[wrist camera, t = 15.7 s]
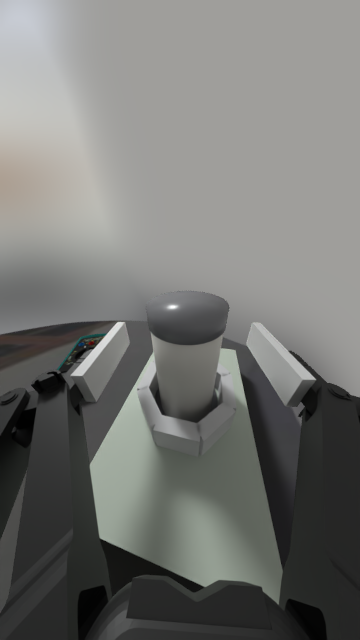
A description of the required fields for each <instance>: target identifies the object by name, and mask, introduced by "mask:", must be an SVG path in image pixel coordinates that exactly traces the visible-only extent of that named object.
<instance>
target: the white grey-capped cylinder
mask: <svg viewBox="0 0 360 640" xmlns="http://www.w3.org/2000/svg"><path fill="white" fill-rule="evenodd" d="M146 312H147V318H148V326H149V330H150V331H151V337H152V344H153V351H154V357H155V364H156V371H157V378H158V385H159V392H160V399H161V405H162V408H163V411H164V413H165V414H166V415H167V416H168V417H173V418H177V419H181V420H185V421H190V422H194V423H198V422H199V421H201V420H202V419H203V418H204V417H206V416H207V414H208V413H209V410H210V408H211V402H212V397H213V391H214V385H215V379H216V373H217V367H218V361H219V356H220V350H221V344H222V338H223V333H224V331H225V328H226V323H227V317H228V312H229V305H228V303H227V302H226V301H225V300H224V299H223V298H221V297H219V296H216V295H213V294H209V293H205V292H197V291H177V292H170V293H165V294H162V295H159V296H156V297H154V298H152V299H150V300H149V301H148V302H147V304H146Z"/></svg>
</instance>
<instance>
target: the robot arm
mask: <svg viewBox="0 0 360 640" xmlns="http://www.w3.org/2000/svg"><path fill="white" fill-rule="evenodd" d="M129 344H130V341H129V337H128V333H127V329H126V325H125V322H117V324H116V325H115V326H114V327H113V328H112V329H111V330H110V331H109V333H108V334H107V335H106V336H105V337H104V338H103V339H102V341H101V342H100V343H99V344H98V345H97V346H96V347H95V348H94V349H90V350H89V351H87V352H86V353H84V354H83V355H82V356H81V357H80V359H79V360H78V361H77V362H76V363H75V364H74V365H73V366H72V367H71V368H70V369H69V370H68V371H67V372H66V373H65V374H64V375H62V374H61V372H60V371H59V370H51V371H47V372H45V373H43V374H41V375H40V376H38V377H37V378H36V379H35V380H34V381H33V382H32V384H31V386H32V387H33V388H34V389H35V390H36V391H32V392H27V391H26V390H25V388H18V389H14V390H12V391H9V392H7V393H6V394H4V395H3V396H1V397H0V539H1V537H2V534H3V531H4V529H5V526H6V524H7V521H8V518H9V516H10V513H11V510H12V508H13V505H14V502H15V500H16V497H17V494H18V492H19V489H20V486H21V484H22V481H23V478H24V476H25V473H26V470H27V468H28V470H27V477H26V484H25V491H24V497H23V504H22V511H21V518H20V525H19V532H18V539H17V546H16V552H15V559H14V566H13V573H12V580H11V587H10V591H9V596H8V599H7V602H6V604H5V606H4V608H3V610H2V611H1V613H0V640H360V398H359V397H356V396H352V395H350V394H349V393H348V392H347V391H345V390H344V389H342V388H340V387H339V386H337V385H334V384H331V383H327V382H326V381H325V380H324V379H323V378H322V377H321V376H319V375H318V374H317V373H316V372H315V371H314V370H313V369H312V368H311V367H310V366H308V364H307V363H306V362H304V360H303V359H302V358H301V357H300V356H298V355H297V354H295V353H294V352H292V351H287V350H286V349H285V347H283V345H282V344H280V342H279V341H277V339H276V338H274V336H273V335H272V334H271V333H270V332H269V331H268V330H267V329H266V328H265V327H264V326H263V325H262V324H261V323H252V325H251V329H250V332H249V336H248V339H247V343H246V345H247V346H248V348H249V349H250V351H251V353H252V354H253V356H254V357H255V359H256V360H257V362H258V364H259V365H260V367H261V368H262V370H263V372H264V373H265V375H266V376H267V378H268V380H269V381H270V383H271V384H272V386H273V387H274V389H275V391H276V392H277V394H278V395H279V397H280V399H281V400H282V402H283V403H284V405H285V406H289V407H297V406H298V405H299V403H300V402H302V403H303V405H304V406H305V407H304V409H303V410H302V411H301V412H300V414H299V416H298V417H301V416H302V426H301V436H300V447H299V458H298V468H297V479H296V490H295V500H294V511H293V522H292V533H291V543H290V552H289V556H288V559H287V561H286V563H285V565H284V569H283V573H282V580H281V588H280V597H279V605H278V604H277V603H276V602H275V601H274V600H273V599H272V598H270V597H269V596H268V595H267V594H266V593H264V592H263V590H262V587H261V586H257V585H254V584H251V583H247V582H244V581H230V580H218V581H216V582H214V583H212V584H210V585H208V586H206V587H205V588H203V589H201V590H199V591H197V592H191V591H190V590H188V589H187V588H185V587H184V586H182V585H181V584H179V583H178V582H176V581H175V580H173V579H172V578H170V577H169V576H157V575H141V576H138V577H134V578H133V579H132V582H130V583H128V584H127V585H126V586H124V587H123V588H122V589H120V590H119V591H118V592H117V593H116V594H115V595H114V596H113V597H112V592H111V586H110V579H109V572H108V566H107V561H106V557H105V553H104V551H103V548H102V546H101V542H100V537H99V530H98V523H97V516H96V509H95V501H94V494H93V487H92V480H91V472H90V465H89V458H88V451H87V443H86V436H85V429H84V421H83V414H82V407H81V403H80V401H81V399H82V398H83V397H84V399H85V401H86V402H97V400H98V399H99V397H100V395H101V393H102V392H103V390H104V388H105V386H106V384H107V383H108V381H109V379H110V377H111V376H112V374H113V372H114V370H115V369H116V367H117V365H118V363H119V362H120V360H121V358H122V356H123V355H124V353H125V351H126V349H127V348H128V346H129Z"/></svg>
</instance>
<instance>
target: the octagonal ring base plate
mask: <svg viewBox="0 0 360 640" xmlns="http://www.w3.org/2000/svg"><path fill="white" fill-rule="evenodd" d="M90 472H91V480H92V487H93V494H94V501H95V509H96V516H97V523H98V530H99V537H100V539H103V540H105V541H107V542H109V543H111V544H113V545H116V546H118V547H120V548H122V549H124V550H126V551H128V552H131V553H133V554H135V555H137V556H139V557H141V558H144V559H146V560H148V561H150V562H152V563H154V564H157V565H159V566H161V567H163V568H165V569H167V570H169V571H172V572H174V573H176V574H178V575H180V576H182V577H185V578H187V579H189V580H191V581H193V582H195V583H197V584H200V585H202V586H204V587H206V586H208V585H210V584H212V583H214V582H216V581H218V580H230V581H244V582H247V583H251V584H254V585H257V586H261V587H262V590H263V592H264V593H266V594H267V595H268V596H269V597H270V598H272V599H273V600H274V601H275V602H276V603H277V604H278V605H279V597H280V588H281V580H282V573H283V570H282V566H281V561H280V556H279V552H278V547H277V543H276V538H275V533H274V529H273V524H272V519H271V515H270V510H269V505H268V501H267V496H266V491H265V487H264V482H263V477H262V473H261V468H260V464H259V459H258V454H257V450H256V445H255V440H254V436H253V431H252V426H251V422H250V417H249V412H248V408H247V403H246V398H245V394H244V389H243V384H242V380H241V375H240V371H239V366H238V361H237V357H236V352H235V350H230V349H222V348H221V350H220V356H219V361H218V367H217V373H216V379H215V385H214V391H213V397H212V402H211V408H210V410H209V413H208V414H207V416H206V417H204V418H203V419H202V420H201V421H199V422H198V423H194V422H190V421H185V420H181V419H177V418H173V417H168V416H167V415H166V414H165V413H164V411H163V408H162V405H161V399H160V392H159V385H158V378H157V371H156V364H155V357H154V352H153V354H152V355H151V357H150V359H149V361H148V362H147V364H146V366H145V368H144V370H143V371H142V373H141V375H140V377H139V378H138V380H137V382H136V384H135V386H134V387H133V389H132V391H131V393H130V395H129V396H128V398H127V400H126V402H125V403H124V405H123V407H122V409H121V411H120V412H119V414H118V416H117V418H116V419H115V421H114V423H113V425H112V427H111V428H110V430H109V432H108V434H107V436H106V437H105V439H104V441H103V443H102V444H101V446H100V448H99V450H98V452H97V453H96V455H95V457H94V459H93V460H92V462H91V464H90Z"/></svg>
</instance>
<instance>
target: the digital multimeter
mask: <svg viewBox="0 0 360 640" xmlns="http://www.w3.org/2000/svg"><path fill="white" fill-rule="evenodd" d="M106 335H107V334H94V335H88V336H84V337H81V338H80V339H79V340H78V342H77V343H76V345H75V346H74V347H73V349H72V350H71V352H70V353H69V354H68V356H67V357H66V358H65V360H64V361H63V362H62V364H61V365H60V366H59V368H58V369H57V370H59V371H60V372H61V374H62V375H64V374H65V373H66V372H67V371H68V370H69V369H70V368H71V367H72V366H73V365H74V364H75V363H76V362H77V361H78V360H79V359H80V357H81V356H82V355H83V354H84V353H86V352H87V351H89V350H90V349H94V348H95V347H96V346H97V345H98V344H99V343H100V342H101V341H102V339H103V338H104V337H105V336H106Z"/></svg>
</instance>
